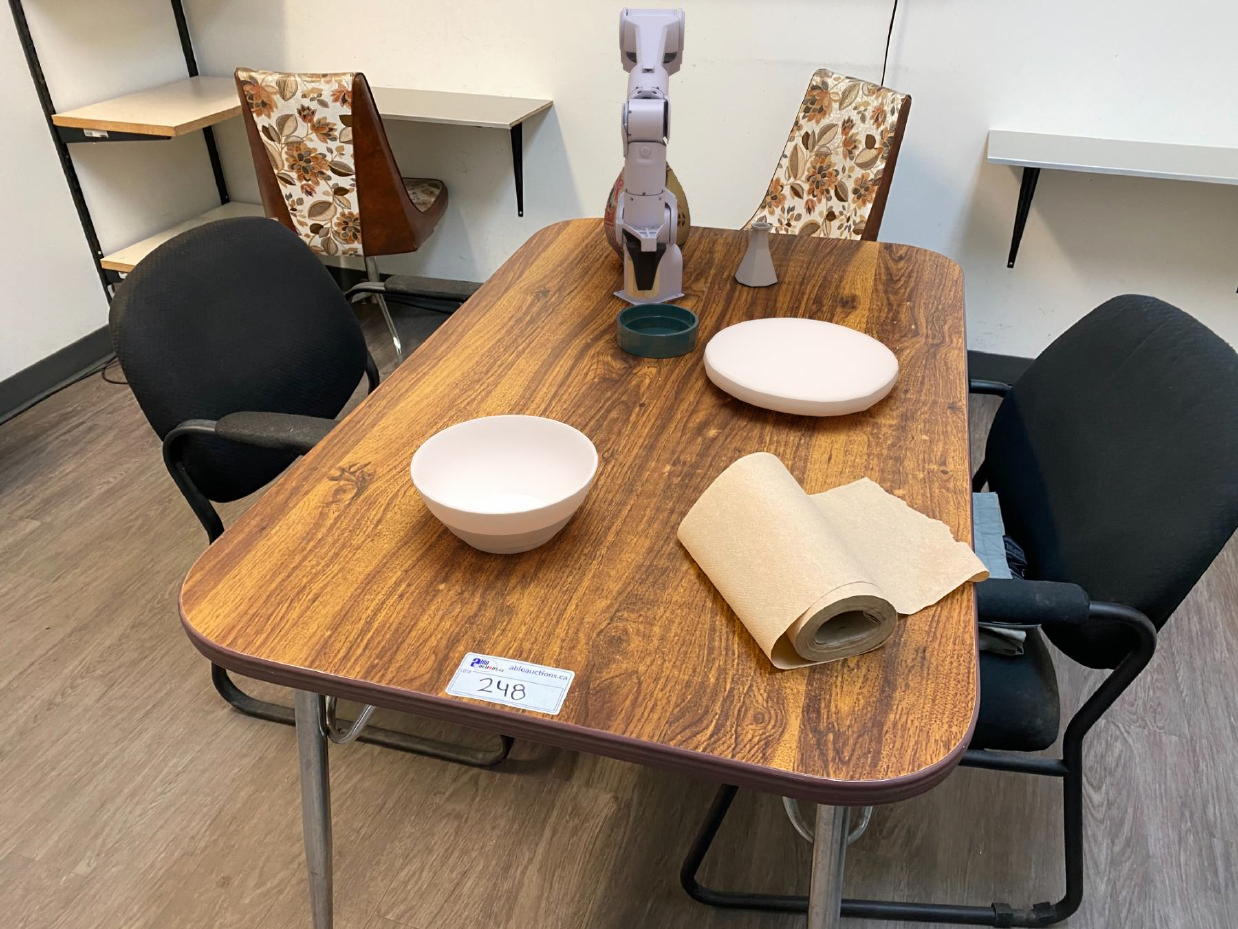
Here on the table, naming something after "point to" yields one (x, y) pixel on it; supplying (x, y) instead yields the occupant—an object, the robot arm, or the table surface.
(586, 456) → the bowl
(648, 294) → the cup
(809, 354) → the plate
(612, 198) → the ceramic jug
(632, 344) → the teal bowl
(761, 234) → the flask
